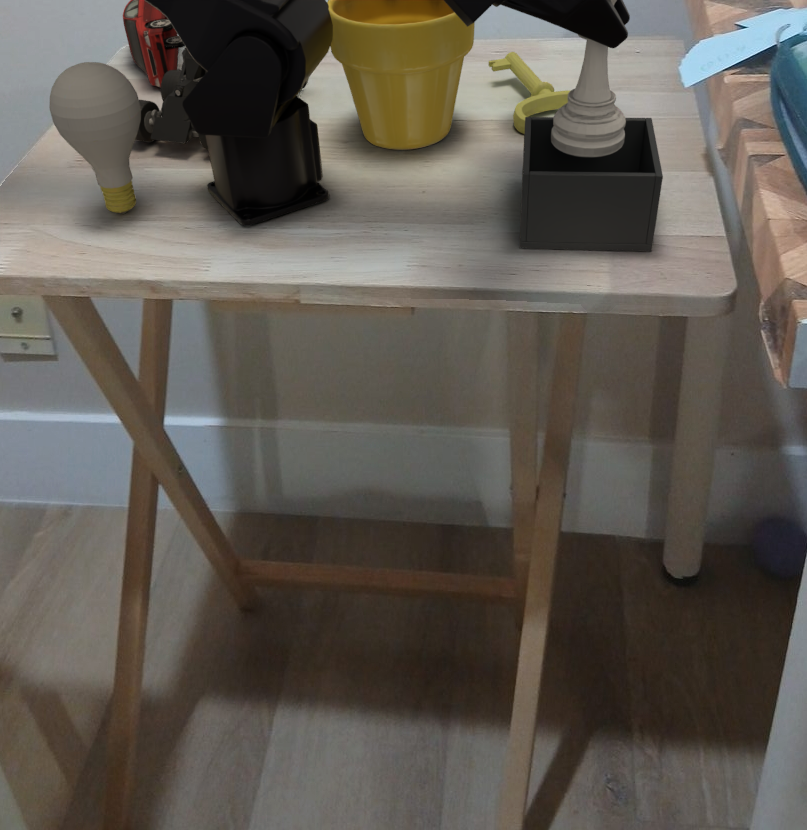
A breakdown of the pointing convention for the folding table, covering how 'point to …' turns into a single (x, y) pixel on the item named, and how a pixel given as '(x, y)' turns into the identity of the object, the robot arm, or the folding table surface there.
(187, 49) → the robot arm
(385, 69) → the flower pot
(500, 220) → the folding table surface
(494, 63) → the key
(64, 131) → the light bulb
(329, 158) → the folding table surface
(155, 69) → the toy car
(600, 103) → the chess piece
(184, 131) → the toy vehicle
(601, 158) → the bin
